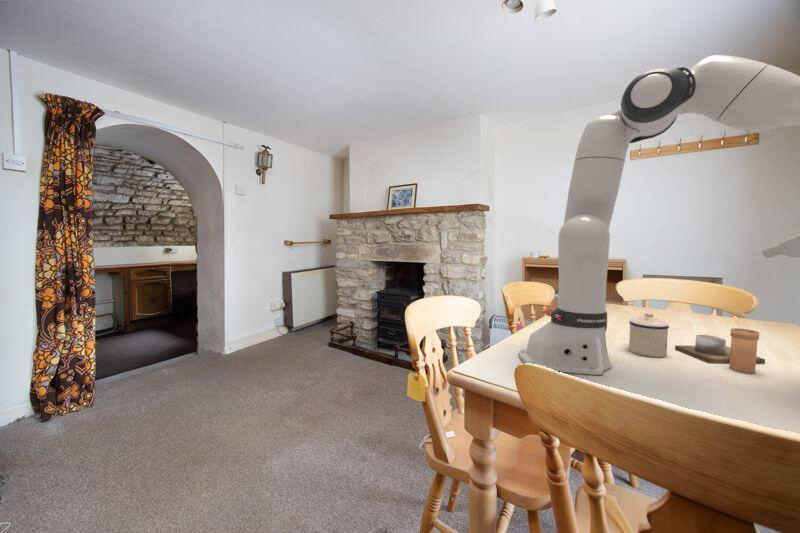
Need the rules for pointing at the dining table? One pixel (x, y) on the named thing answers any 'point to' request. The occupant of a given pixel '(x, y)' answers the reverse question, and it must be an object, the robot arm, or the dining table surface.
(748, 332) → the peach lidded canister
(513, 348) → the dining table surface
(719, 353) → the stud board
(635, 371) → the dining table surface
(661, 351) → the teacup with lid
